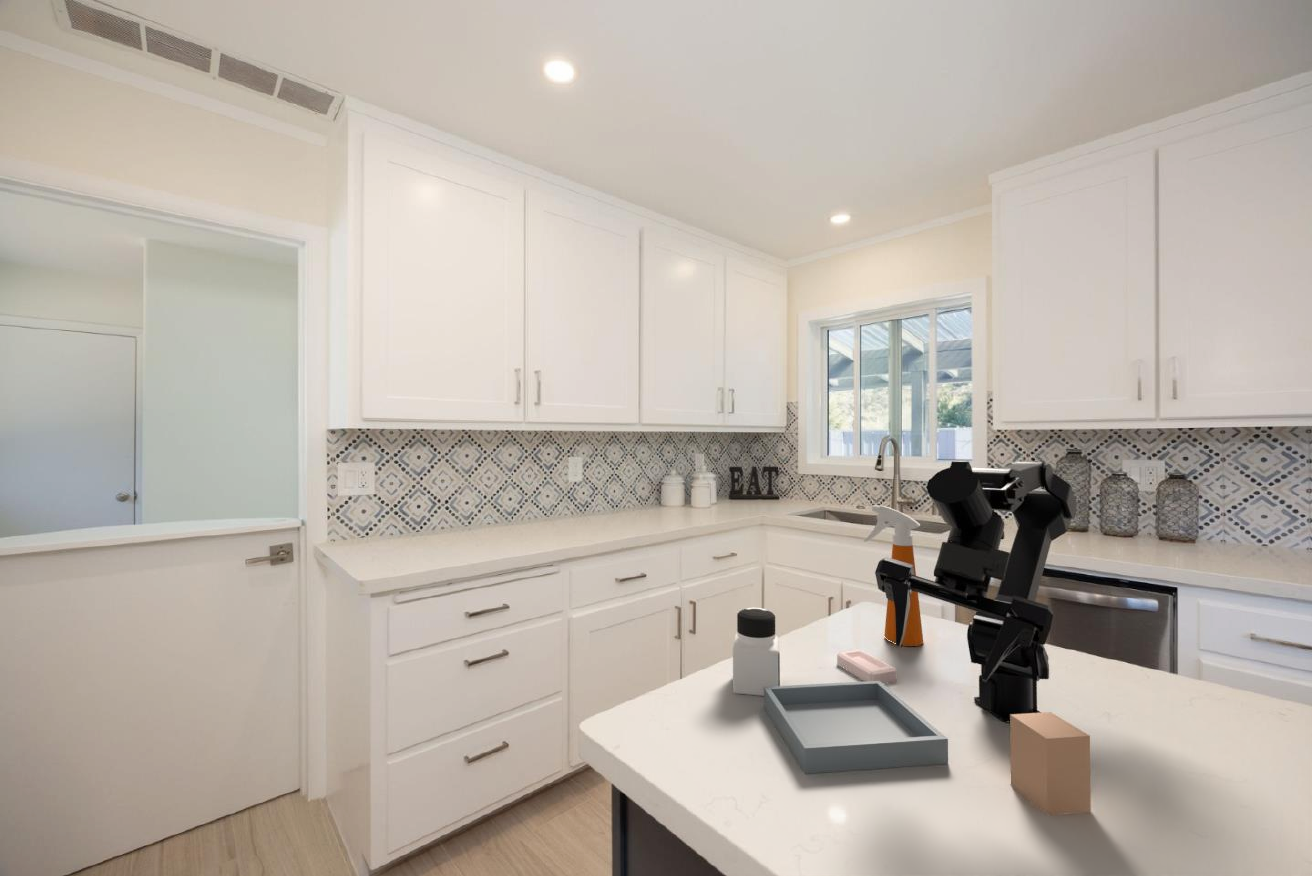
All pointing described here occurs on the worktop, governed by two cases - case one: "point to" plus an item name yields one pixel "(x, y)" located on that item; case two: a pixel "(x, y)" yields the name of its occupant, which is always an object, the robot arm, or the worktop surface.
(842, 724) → the tray
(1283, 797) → the worktop surface
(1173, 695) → the worktop surface
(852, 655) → the soap bar
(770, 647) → the medicine bottle
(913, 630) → the spray bottle
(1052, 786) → the carton
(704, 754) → the worktop surface
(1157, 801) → the worktop surface
